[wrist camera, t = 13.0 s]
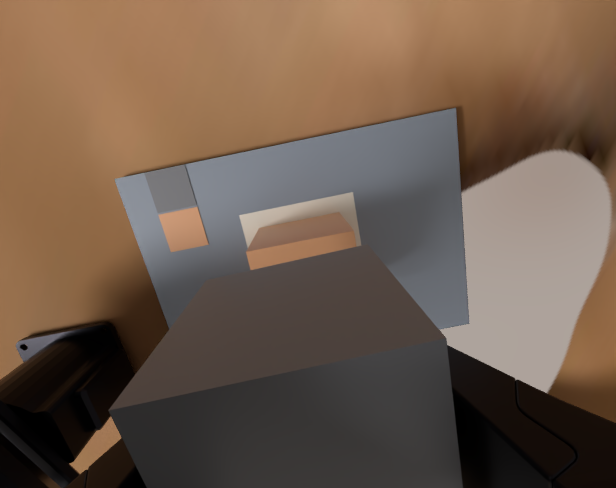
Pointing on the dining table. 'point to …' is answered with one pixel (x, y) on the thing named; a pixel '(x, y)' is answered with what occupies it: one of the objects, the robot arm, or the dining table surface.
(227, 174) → the board
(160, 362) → the charcoal cube
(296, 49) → the dining table surface
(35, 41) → the dining table surface
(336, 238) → the terracotta cube
